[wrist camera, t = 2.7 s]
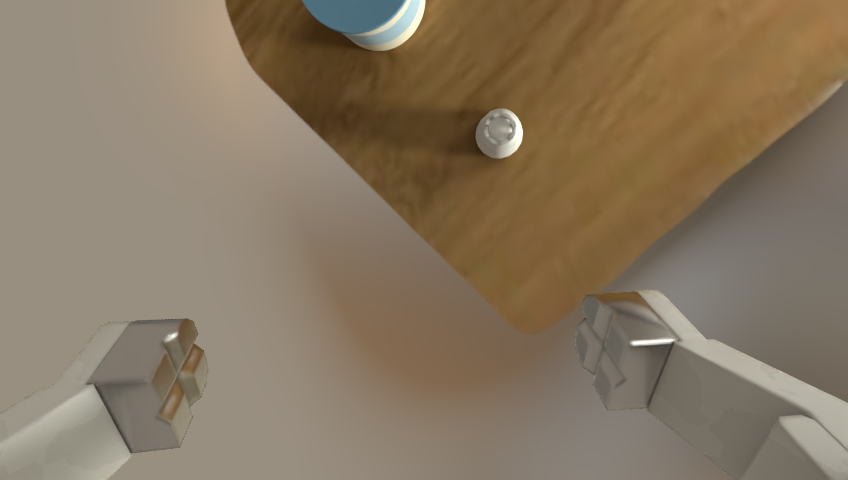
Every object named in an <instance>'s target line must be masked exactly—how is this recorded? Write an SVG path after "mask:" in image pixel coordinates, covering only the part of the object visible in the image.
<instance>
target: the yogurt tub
mask: <svg viewBox="0 0 848 480" xmlns="http://www.w3.org/2000/svg"><path fill="white" fill-rule="evenodd" d="M302 1H303V3H304V5H305V6H306V8H307V9H308V11H309V12H310V13H311V14H312V15H313V16H314V17H315V18H316V19H317V20H318V21H319V22H321V23H322V24H323V25H325V26H327V27H328V28H330V29H332V30H335V31H338V32H341V33H342V34H343V35H345V36H346V37H347V38H349V39H350V40H351V41H352V42H354V43H355V44H357V45H358V46H360V47H362V48H365V49H368V50H372V51H385V50H390V49H393V48H395V47H397V46H399V45H401V44H402V43H404V42H405V41H406V40H408V39H409V38H410V37H411V36H412V34H413V33H414V32H415V30H416V29H417V27H418V26H419V23H420V21H421V19H422V16H423V12H424V8H425V0H302Z"/></svg>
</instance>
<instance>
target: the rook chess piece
mask: <svg viewBox="0 0 848 480" xmlns="http://www.w3.org/2000/svg"><path fill="white" fill-rule="evenodd" d="M522 136H523V130H522V126H521V123H520V121H519V119H518V118H517V116H516V115H515V114H514V113H513V112H511V111H509V110H507V109H496V110H493V111H490V112H489V113H488V114H487V115H486V116H484V117H483V118H482V119H481V120H480V122H479V124H478V126H477V128H476V136H475V138H476V141H477V145H478V147H479V148H480V150H481V151H482V152H483V153H484V154H486V155H488V156H489V157H491V158H504V157H507V156H510V155H511V154H512V153H514V152H515V151H516V150H517V149H518V147H519V145H520V144H521V142H522Z"/></svg>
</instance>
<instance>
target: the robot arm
mask: <svg viewBox="0 0 848 480" xmlns="http://www.w3.org/2000/svg"><path fill="white" fill-rule="evenodd" d="M581 311H582V312H583V314H584V316H585V318H584V319H583V320H582V321H581V322H580V323H579V324H578V325H577V327H576V332H575V349H576V353H577V355H578V359H579V361H580V363H581V364H582V366H583V368H584V369H586V370H587V371H589V372H590V373H592V374H593V375H595V378H594V381H593V386H594V388H595V389H596V391H597V393H598V395H599V397H600V399H601V400H602V402H603V404H604V406H605V407H606V409H607V410H626V409H643V408H648V409H647V410H648V411H649V412H650V413H651V414H653V415H654V416H655V417H656V418H658V419H659V420H660V421H661V422H663V423H664V424H665V425H667V426H668V427H669V428H670V429H672V430H673V431H674V432H675V433H677V434H678V435H679V436H680V437H682V438H683V439H684V440H685V441H687V442H688V443H689V444H691V445H692V446H693V447H694V448H696V449H697V450H698V451H699V452H701V453H702V454H703V455H704V456H706V457H707V458H708V459H710V460H711V461H712V462H713V463H715V464H716V465H717V466H718V467H720V468H721V469H722V470H724V471H725V472H726V473H727V474H729V475H730V476H731V477H732V478H734V479H735V480H848V403H846V402H844V401H842V400H840V399H838V398H836V397H833V396H832V395H829V394H828V393H825V392H823V391H821V390H819V389H817V388H815V387H813V386H811V385H809V384H807V383H804V382H802V381H800V380H798V379H796V378H794V377H792V376H790V375H788V374H786V373H784V372H781V371H779V370H777V369H775V368H773V367H771V366H769V365H767V364H765V363H762V362H760V361H758V360H756V359H754V358H752V357H750V356H748V355H746V354H744V353H742V352H739V351H737V350H735V349H733V348H731V347H729V346H727V345H725V344H723V343H721V342H719V341H716V340H714V339H711V340H710V339H709V340H706V339H705V337H704V336H702V334H701V333H700V332H699V331H698V330H697V329H696V328H695V327H694V326H693V325H692V324H691V323H690V322H689V321H688V320H687V319H686V318H685V317H684V316H683V315H682V314H681V313H680V311H678V309H677V308H676V307H675V306H674V305H673V304H672V303H671V302H670V301H669V300H668V299H667V298H666V297H665V296H664V295H663V294H662V293H661V292H660V291H657V290H655V289H650V290H639V291H631V292H620V293H605V294H590V295H586V297H585V298H584V300H583V303H582V307H581ZM197 335H198V332H197V329H196V327H195V324H194V322H193V321H192V320H189V319H165V320H141V321H124V322H108V323H106V324H104V325H101V326H100V327H99V329H98V330H97V331H96V333H95V334H94V335H93V336H92V337H91V338H90V340H89V341H88V342H87V343H86V345H85V346H84V347H83V348H82V350H81V351H80V352H79V353H78V355H77V356H76V357H75V358H74V360H73V361H72V362H71V363H70V364H69V366H68V367H67V368H66V370H65V371H64V372H63V373H62V374H61V376H60V377H59V378H58V379H57V380H56V382H55V383H54V384H53V385H52V387H48V388H41V389H39V390H37V391H36V392H34V393H32V394H31V395H29V396H27V397H26V398H24V399H22V400H21V401H19V402H17V403H16V404H14V405H12V406H11V407H9V408H7V409H5V410H4V411H2V412H0V480H107V479H108V478H109V477H110V476H111V475H112V474H113V473H115V472H116V471H117V470H118V468H120V467H121V466H122V465H123V464H124V463H125V462H126V461H127V460H128V459H129V458H130V457H131V453H138V452H147V451H155V450H165V449H173V448H180V447H181V445H182V442H183V440H184V437H185V435H186V433H187V430H188V428H189V426H190V423H191V421H192V418H193V415H192V413H191V410H190V406H191V405H193V404H194V403H195V402H196V401H198V400H199V399H200V398H201V396H202V394H203V392H204V389H205V386H206V381H207V374H208V368H207V359H206V356H205V353H204V350H202V349H201V348H200V347H198V346H197V345H195V344H194V342H195V340H196V337H197Z"/></svg>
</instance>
